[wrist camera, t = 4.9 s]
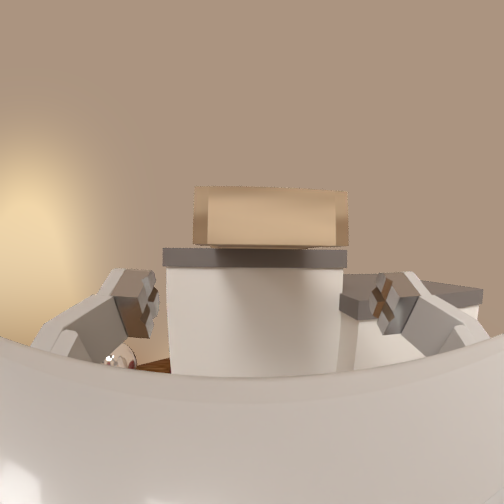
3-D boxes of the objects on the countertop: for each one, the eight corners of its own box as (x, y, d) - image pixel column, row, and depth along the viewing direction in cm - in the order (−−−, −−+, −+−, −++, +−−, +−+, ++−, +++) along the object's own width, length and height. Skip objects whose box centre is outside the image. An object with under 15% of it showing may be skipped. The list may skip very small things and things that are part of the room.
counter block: (420, 490, 15) (484, 251, 16) (187, 526, 14) (148, 246, 14) (359, 412, 36) (376, 252, 36) (205, 423, 35) (199, 250, 35)
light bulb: (113, 393, 39) (104, 333, 39) (148, 399, 40) (140, 337, 40) (98, 411, 32) (84, 345, 32) (136, 419, 33) (124, 351, 33)
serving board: (348, 245, 9) (340, 120, 9) (192, 243, 9) (200, 112, 9) (272, 251, 31) (273, 208, 31) (224, 250, 31) (225, 207, 31)
